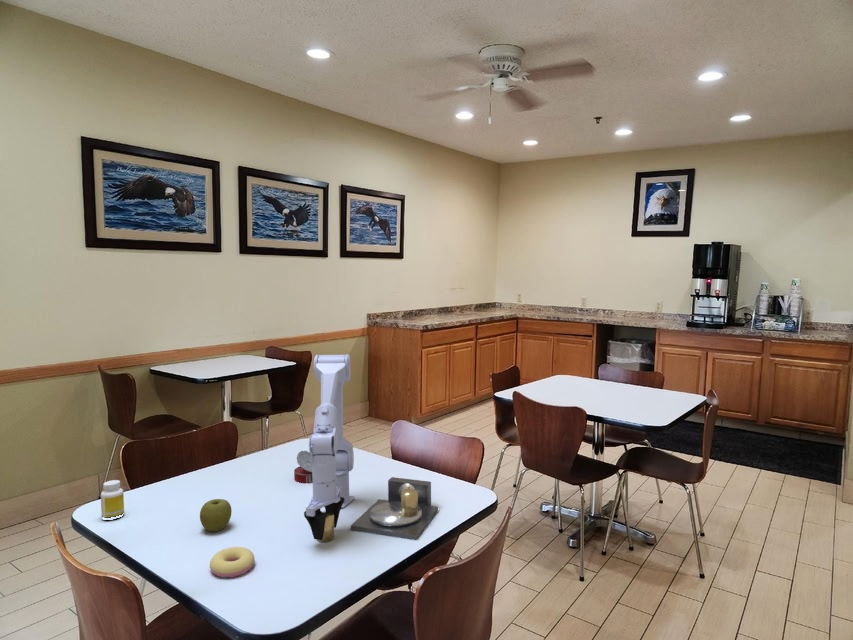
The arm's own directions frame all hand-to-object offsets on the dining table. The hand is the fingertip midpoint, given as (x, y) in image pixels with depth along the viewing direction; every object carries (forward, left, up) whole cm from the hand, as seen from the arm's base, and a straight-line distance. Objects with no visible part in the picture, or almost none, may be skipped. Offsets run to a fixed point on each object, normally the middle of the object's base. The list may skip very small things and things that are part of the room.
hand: (325, 532), depth 136 cm
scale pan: (+13, +15, 0) cm, 20 cm away
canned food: (-26, +36, -2) cm, 44 cm away
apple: (-30, -4, -2) cm, 30 cm away
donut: (-13, -19, -2) cm, 23 cm away
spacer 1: (0, 0, -2) cm, 2 cm away
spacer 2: (+17, +15, +1) cm, 23 cm away
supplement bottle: (-62, -7, -2) cm, 62 cm away
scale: (+13, +16, -1) cm, 21 cm away
